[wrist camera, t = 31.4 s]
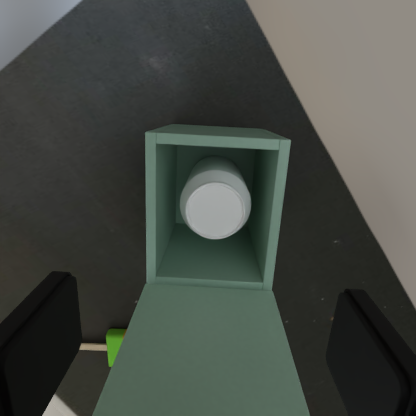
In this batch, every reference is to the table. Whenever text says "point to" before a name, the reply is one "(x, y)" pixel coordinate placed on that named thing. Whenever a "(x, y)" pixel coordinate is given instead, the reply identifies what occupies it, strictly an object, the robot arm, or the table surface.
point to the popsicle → (108, 344)
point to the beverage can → (215, 198)
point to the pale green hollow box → (194, 243)
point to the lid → (203, 357)
